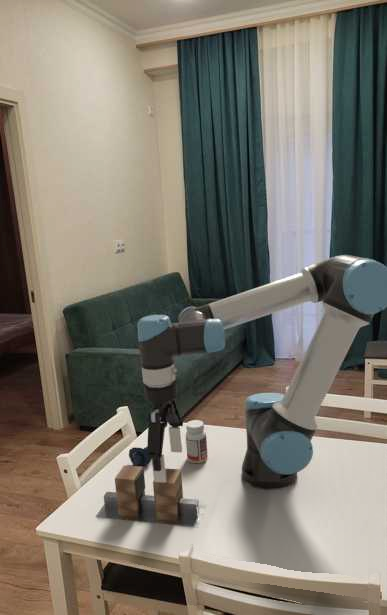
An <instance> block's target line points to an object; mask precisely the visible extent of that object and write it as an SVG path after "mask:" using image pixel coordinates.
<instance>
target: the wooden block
mask: <svg viewBox="0 0 387 615" xmlns="http://www.w3.org/2000/svg"><path fill="white" fill-rule="evenodd" d="M143 467H144V466H133V465H123V466H122V467H121V469H120V470H119V471H118V473H117V474H116V476H115V478H114V485H115V486H114V487H115V492H116V496H117V505H118V515H121V516H131V517H138V516H139V505H138V500H139V498H140V496H141V495H146V481H145V480H146V479H145V470H144V468H143Z"/></svg>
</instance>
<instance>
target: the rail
mask: <svg viewBox="0 0 387 615" xmlns="http://www.w3.org/2000/svg"><path fill="white" fill-rule="evenodd" d="M177 504H178V516H179V518H178V521H172V520H161V519H157V510H156V502H155V499H154V495H152V494H151V495H149V494H145V495H141V496H140V498H139V500H138V505H139V516H138V517H131V516H121V515H118V505H117V496H116V491H115V492H113V491H106V492H105V493H104V495H103V505H102V507H101V508H100V509H99V511H98V512H97V514H96V515H95V518H101V519H109V520H120V521H128V522H129V521H131V522H139V523H149V524H159V525H168V526H177V527H179V526H181V527H187V528H188V527H189V528H197V529H198V528H199V526H200V524H201V520H202V519H203V515H204V514H205V510H206V507H207V504H205V503H200V501H199V499H194V498H184V497H183V498H179V501H178V503H177Z"/></svg>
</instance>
